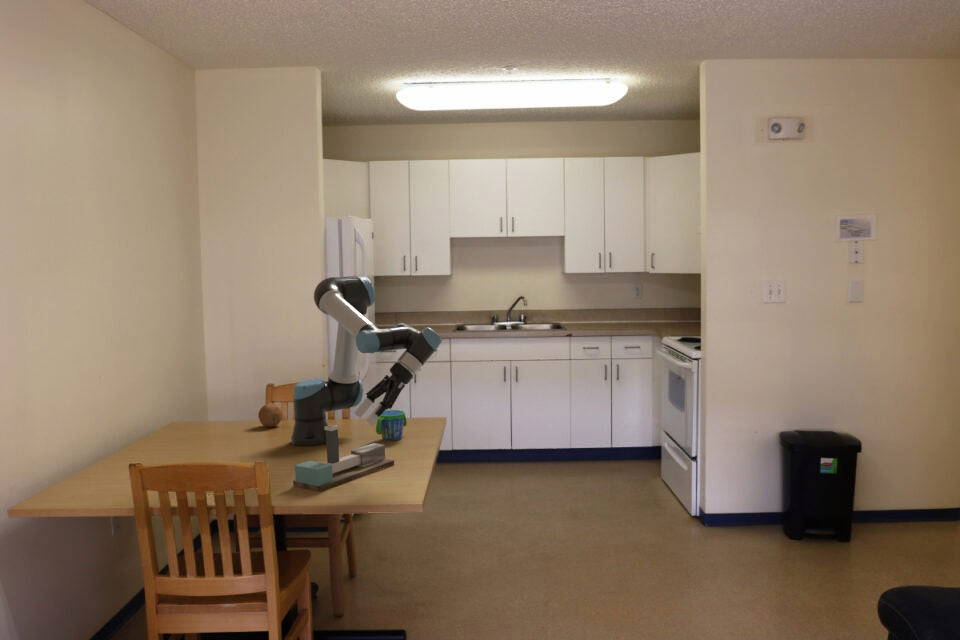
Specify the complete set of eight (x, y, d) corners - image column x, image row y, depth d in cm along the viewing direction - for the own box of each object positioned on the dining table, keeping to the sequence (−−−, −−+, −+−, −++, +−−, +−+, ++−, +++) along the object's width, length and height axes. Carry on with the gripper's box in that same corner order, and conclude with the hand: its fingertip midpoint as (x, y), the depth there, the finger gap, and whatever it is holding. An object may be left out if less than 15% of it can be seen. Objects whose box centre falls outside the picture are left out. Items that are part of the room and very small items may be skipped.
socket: (295, 481, 240) (294, 465, 240) (310, 476, 245) (309, 460, 245) (318, 486, 234) (317, 469, 234) (332, 481, 239) (331, 464, 239)
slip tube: (311, 476, 241) (309, 431, 240) (360, 460, 259) (358, 417, 258) (318, 478, 239) (316, 432, 238) (367, 461, 257) (365, 418, 256)
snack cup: (386, 445, 289) (385, 418, 288) (367, 441, 295) (366, 414, 295) (416, 436, 301) (415, 410, 300) (397, 433, 307) (396, 407, 306)
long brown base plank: (293, 485, 241) (292, 465, 240) (367, 460, 268) (367, 441, 268) (320, 491, 234) (319, 470, 233) (394, 464, 261) (393, 445, 261)
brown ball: (276, 423, 333) (274, 400, 332) (287, 426, 325) (286, 402, 324) (255, 427, 326) (253, 403, 325) (266, 430, 319) (264, 406, 318)
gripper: (427, 381, 244) (383, 434, 239) (400, 371, 267) (360, 419, 262) (410, 365, 242) (365, 419, 237) (385, 357, 264) (344, 405, 259)
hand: (362, 419), depth 249 cm, fingers open, 13 cm apart
